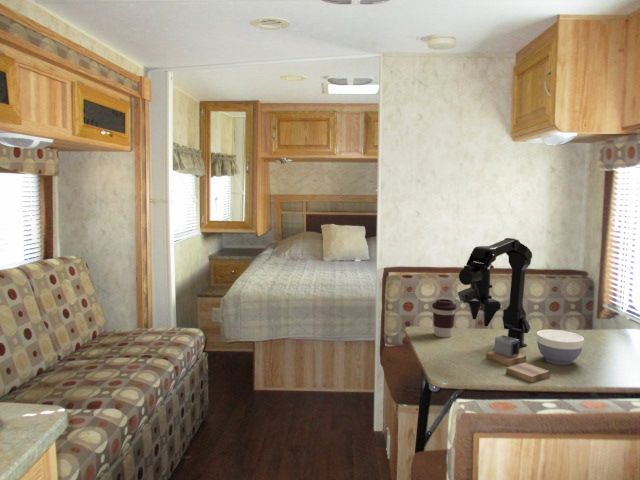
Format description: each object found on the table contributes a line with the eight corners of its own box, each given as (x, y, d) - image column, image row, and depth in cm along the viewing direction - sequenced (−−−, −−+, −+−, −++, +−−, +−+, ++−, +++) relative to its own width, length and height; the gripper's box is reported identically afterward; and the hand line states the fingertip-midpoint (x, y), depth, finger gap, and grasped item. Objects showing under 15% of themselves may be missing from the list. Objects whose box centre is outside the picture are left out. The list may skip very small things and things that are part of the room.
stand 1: (503, 353, 212) (503, 348, 212) (526, 361, 204) (526, 355, 204) (486, 358, 207) (486, 352, 206) (508, 366, 198) (509, 360, 198)
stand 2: (523, 367, 197) (524, 362, 197) (549, 376, 189) (549, 371, 188) (506, 373, 191) (506, 367, 191) (531, 382, 183) (531, 376, 183)
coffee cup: (455, 339, 229) (457, 304, 227) (431, 337, 231) (432, 302, 229) (454, 332, 239) (456, 298, 237) (431, 331, 241) (432, 297, 239)
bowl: (558, 351, 216) (560, 327, 214) (592, 365, 201) (594, 339, 200) (526, 356, 210) (527, 331, 209) (557, 370, 195) (559, 344, 194)
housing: (502, 350, 209) (503, 335, 209) (518, 355, 204) (519, 340, 203) (494, 352, 206) (495, 337, 206) (510, 358, 201) (511, 342, 200)
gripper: (450, 277, 210) (449, 317, 212) (473, 287, 192) (471, 331, 194) (477, 276, 213) (475, 315, 215) (502, 286, 194) (500, 329, 197)
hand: (480, 322), depth 205 cm, fingers open, 9 cm apart
